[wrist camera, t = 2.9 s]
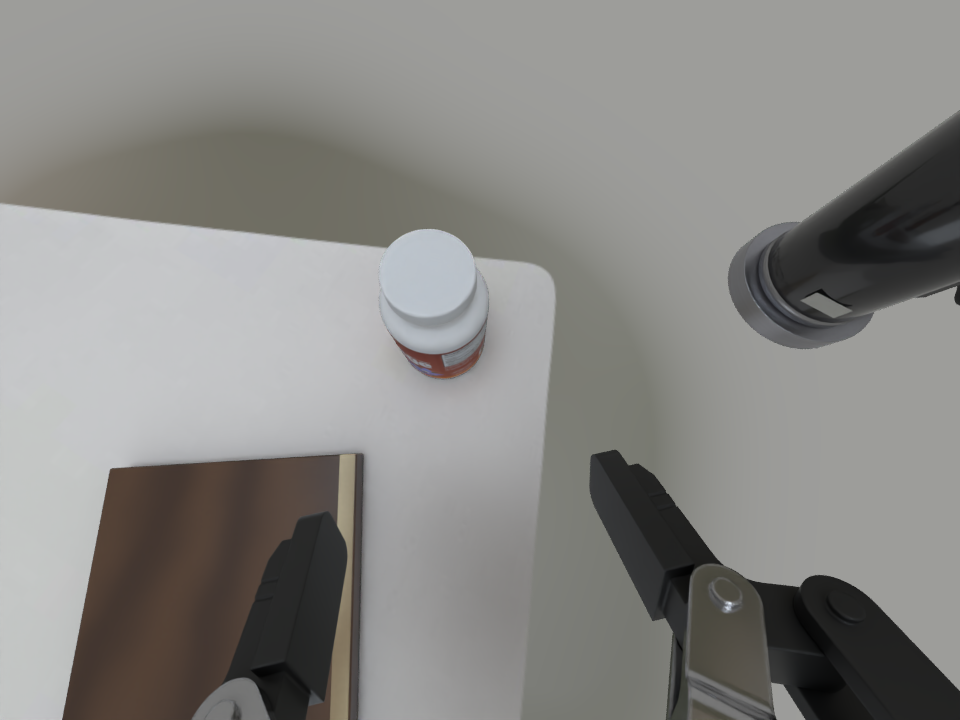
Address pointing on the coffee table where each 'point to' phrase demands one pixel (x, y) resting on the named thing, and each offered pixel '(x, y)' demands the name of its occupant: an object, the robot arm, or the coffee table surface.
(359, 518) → the board
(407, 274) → the pill bottle
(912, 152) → the robot arm
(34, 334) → the coffee table surface
